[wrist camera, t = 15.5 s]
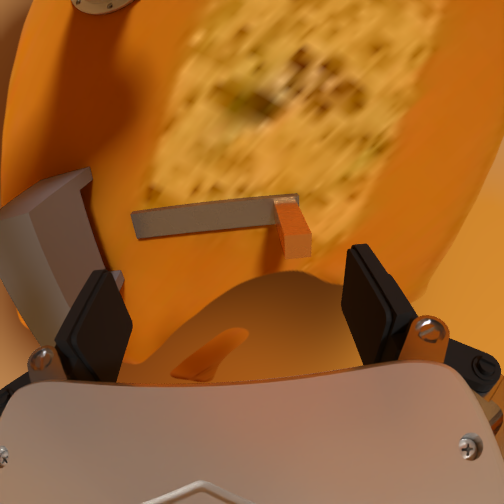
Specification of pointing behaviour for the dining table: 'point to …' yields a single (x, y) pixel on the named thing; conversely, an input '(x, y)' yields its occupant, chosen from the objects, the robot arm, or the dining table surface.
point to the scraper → (231, 219)
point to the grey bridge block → (48, 251)
